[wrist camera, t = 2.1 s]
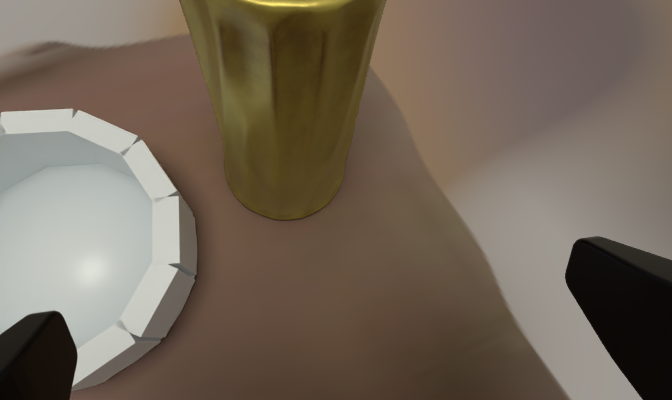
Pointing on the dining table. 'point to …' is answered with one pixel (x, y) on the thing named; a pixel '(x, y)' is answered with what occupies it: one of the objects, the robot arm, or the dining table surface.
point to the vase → (284, 93)
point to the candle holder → (91, 237)
